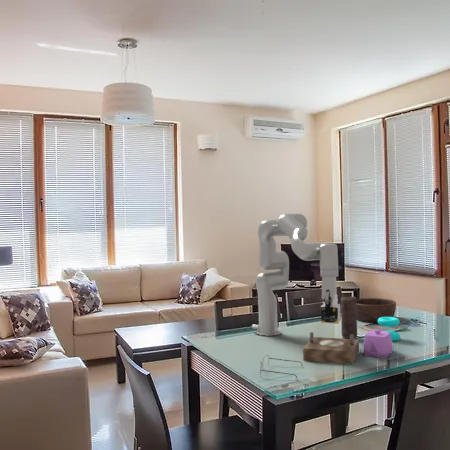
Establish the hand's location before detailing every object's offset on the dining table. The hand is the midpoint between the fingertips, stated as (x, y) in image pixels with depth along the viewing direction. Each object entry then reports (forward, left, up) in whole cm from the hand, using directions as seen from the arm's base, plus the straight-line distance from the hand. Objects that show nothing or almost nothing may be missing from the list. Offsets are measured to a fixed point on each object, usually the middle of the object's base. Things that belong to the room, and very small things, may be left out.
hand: (330, 314), depth 199 cm
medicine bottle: (0, 0, -3) cm, 3 cm away
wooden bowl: (+10, +81, -18) cm, 84 cm away
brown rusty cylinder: (+3, +32, -18) cm, 37 cm away
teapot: (+18, +8, -18) cm, 27 cm away
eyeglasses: (-15, -27, -18) cm, 36 cm away
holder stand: (0, 0, -18) cm, 18 cm away
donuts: (+21, +35, -18) cm, 45 cm away
